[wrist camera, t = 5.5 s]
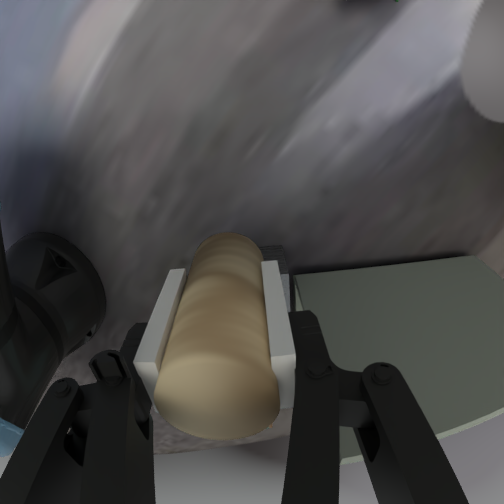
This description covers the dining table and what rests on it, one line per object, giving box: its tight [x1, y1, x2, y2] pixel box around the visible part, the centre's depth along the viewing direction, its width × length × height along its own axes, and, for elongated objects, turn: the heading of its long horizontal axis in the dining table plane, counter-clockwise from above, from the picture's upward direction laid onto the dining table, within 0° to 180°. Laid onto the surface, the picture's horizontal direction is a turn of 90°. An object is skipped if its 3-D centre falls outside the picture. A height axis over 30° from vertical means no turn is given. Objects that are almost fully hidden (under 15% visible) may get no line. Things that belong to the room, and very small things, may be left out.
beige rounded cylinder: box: [154, 232, 280, 440], centre depth 14 cm, size 4×4×10 cm
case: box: [293, 255, 504, 465], centre depth 28 cm, size 22×23×22 cm
